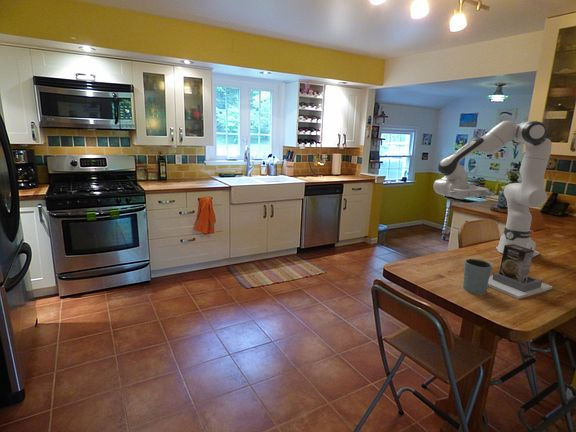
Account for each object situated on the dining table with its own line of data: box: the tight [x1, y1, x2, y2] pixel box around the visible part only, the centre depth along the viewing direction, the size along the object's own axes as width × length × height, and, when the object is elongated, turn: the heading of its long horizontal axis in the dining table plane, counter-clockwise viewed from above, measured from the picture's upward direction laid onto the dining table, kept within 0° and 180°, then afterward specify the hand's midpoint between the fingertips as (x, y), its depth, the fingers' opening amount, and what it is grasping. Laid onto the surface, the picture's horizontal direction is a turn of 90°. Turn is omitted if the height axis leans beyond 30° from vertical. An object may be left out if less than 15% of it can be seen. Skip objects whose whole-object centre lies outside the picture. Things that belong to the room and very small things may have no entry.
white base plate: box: [487, 272, 553, 300], centre depth 150 cm, size 24×18×4 cm
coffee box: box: [498, 244, 534, 283], centre depth 148 cm, size 9×6×16 cm
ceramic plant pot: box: [462, 258, 493, 295], centre depth 143 cm, size 10×10×12 cm
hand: (485, 195), depth 169 cm, fingers open, 8 cm apart
